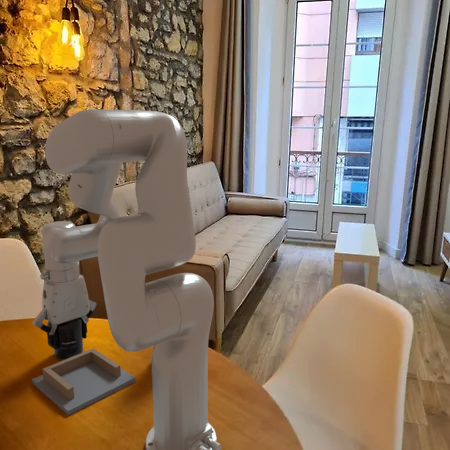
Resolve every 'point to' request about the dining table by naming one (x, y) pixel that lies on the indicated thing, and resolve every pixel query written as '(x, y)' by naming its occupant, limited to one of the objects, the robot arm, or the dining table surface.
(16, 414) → the dining table surface
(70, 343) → the supplement bottle
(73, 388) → the bottle stand
